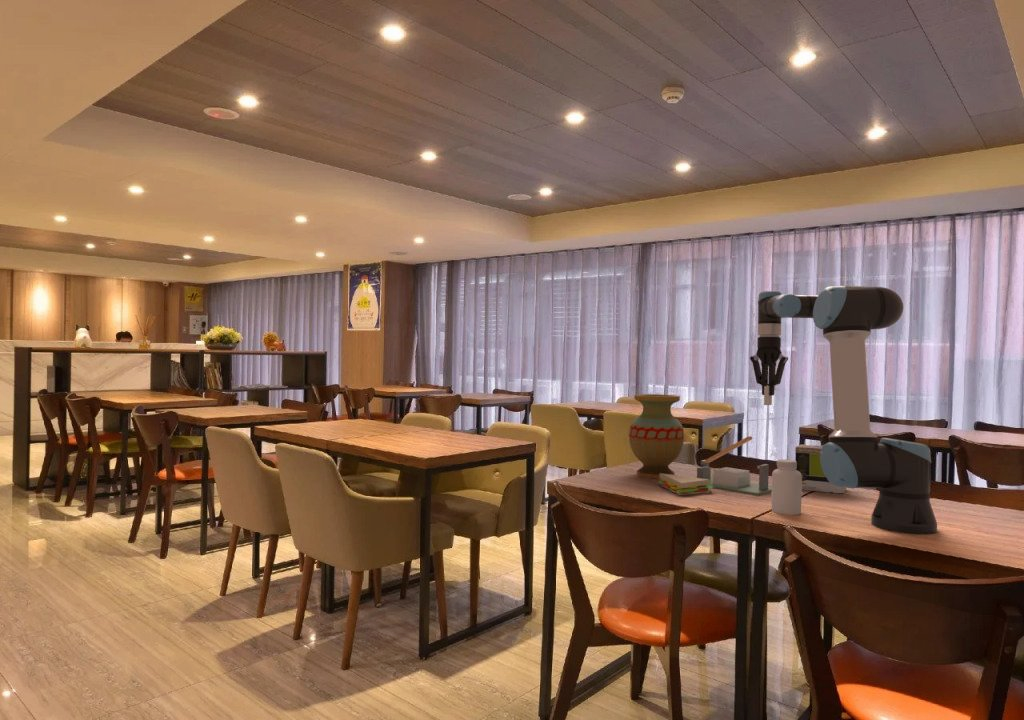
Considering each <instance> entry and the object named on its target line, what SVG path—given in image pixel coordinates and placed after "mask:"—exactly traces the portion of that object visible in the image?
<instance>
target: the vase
mask: <svg viewBox="0 0 1024 720" xmlns="http://www.w3.org/2000/svg"><path fill="white" fill-rule="evenodd" d="M680 397H681V396H680V395H677V394H676V395H675V394H674V395H673V394H653V393H651V394H650V393H648V394H647V393H641V394H640V393H639V394H634V397H633V398H634V400H635V401H638V402H639V403H640V404H641V405H642V411H641V413H640V415H638V416H637V417H636V418H635V419H634V420H633V421H631V423H630V426H629V429H628V442H629V447H630V449H631V450H632V453H633V455H634V456H635V457H636V458H637V459H638V461H640V463H641V464H642V467H640V468H638V469H637V470H636V475H637V476H639V477H643V478H649V479H660V478H659V476H660V473H663V474H670V475H676V472H675V471H673V470H672V469H671V468H669V466H670V465H671V464H672V463H673V462H674V461H675V460H676V459H677V458H678V457H679V455H680V454H681V452H682V449H683V445H684V442H685V440H684V439H685V431H684V430H685V429H684V427H683V425H682V423H681V422H680V421H679V420H678V419H677V418H676V417H675V416H674V415H673V414H672V410H671V409H672V408H671V407H672V405H674V404H676V403H678V402H679V401H680V399H681V398H680ZM680 402H681V401H680Z"/></svg>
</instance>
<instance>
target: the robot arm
mask: <svg viewBox="0 0 1024 720" xmlns="http://www.w3.org/2000/svg"><path fill="white" fill-rule="evenodd" d="M757 304H758V305H757V310H758V311H757V336H758V337H757V351H756V353H755V354H754V355H751V356H750V357H749V360H750V361H751V362H752V367H753V368H752V369H753V372H754V377H755V382H756V384H758V385H761V395H762V396H763V406H772V403H773V396H775V390H776V389H775V387H776V386H778V385H780V384H781V382H782V377H783V374H784V370H785V366H786V363H787V362H788V361H789V357H788V356H785V355H784V354H782V350H781V346H782V343H781V342H782V338H781V337H780V336H781V335H782V319H783V318H785V319H787V318H789V319H792V318H793V319H813V323H814V325H815V327H816V328H818V329H819V330H822V336H823V338H824V339H825V340H827V341H828V343H829V353H830V354H829V357H830V358H829V359H830V373H831V376H830V377H831V389H832V390H831V391H832V410H833V411H832V412H833V429H834V430H833V431H832V432H831V433H830V434H829V435H828V442H826V443H825V444H823V445H822V446H823V447H822V449H821V450H822V451H821V452H820V462H821V467H822V470H823V472H824V475H825V476H826V478H827V479H828V481H829V482H830V483H831V484H833V485H834V486H837V487H845V488H846V489H847V488H848V489H861V488H862V489H879V492H878V498H877V501H876V504H875V506H874V508H873V511H872V514H871V517H870V518H871V519H870V520H871V522H870V523H871V526H874V527H876V528H879V529H882V530H884V531H889V532H893V533H900V534H909V535H933V534H935V533H937V532H938V522H937V518H936V516H935V513H934V511H933V510H934V509H933V508H932V507H933V506H932V503H931V500H930V499H931V464H932V457H931V455H932V454H931V450H930V447H929V446H928V445H926V444H923V443H921V442H920V443H919V442H914V441H908V440H902V439H895V438H888V437H881V438H880V441H879V442H878V435H876V434H875V433H874V432H873V431H872V430H871V421H870V404H869V403H870V402H869V387H868V386H869V385H868V371H867V370H868V369H867V353H866V340H867V338H869V337H870V335H871V334H872V333H871V332H872V331H871V330H881V329H886V328H889V327H891V326H893V325H894V324H896V323H897V322H898V321H899V320H900V318H901V317H902V315H903V312H904V303H903V300H902V298H901V296H900V295H899V294H898V293H897V292H896V291H894V290H892V289H890V288H888V287H882V286H859V285H844V284H841V285H836V286H834V285H833V286H832V285H831V286H827V287H825V288H824V289H822V290H821V292H819V294H818V295H806V294H803V295H801V294H793V293H781V291H778V290H765V291H763V290H762V291H761V292H759V294H758V300H757ZM759 360H760V361H759ZM777 361H779V362H778V364H777ZM776 366H777V368H776Z"/></svg>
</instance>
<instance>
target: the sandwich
mask: <svg viewBox="0 0 1024 720" xmlns="http://www.w3.org/2000/svg"><path fill="white" fill-rule="evenodd" d="M658 479H659V480H660V481H658V483H659V486H661V487H663V488H665V489H667V490H669V491H671V492H673V493H675V494H677V495H678V496H685V495H686V496H687V495H698V494H709V493H712V490H710V489H714V488H713V486H709V485H710V480H709V479H701V478H697V477H692V476H685V475H678V474H677V475H676V474H675V475H670V474H663V473H660V476H659V478H658Z"/></svg>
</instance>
